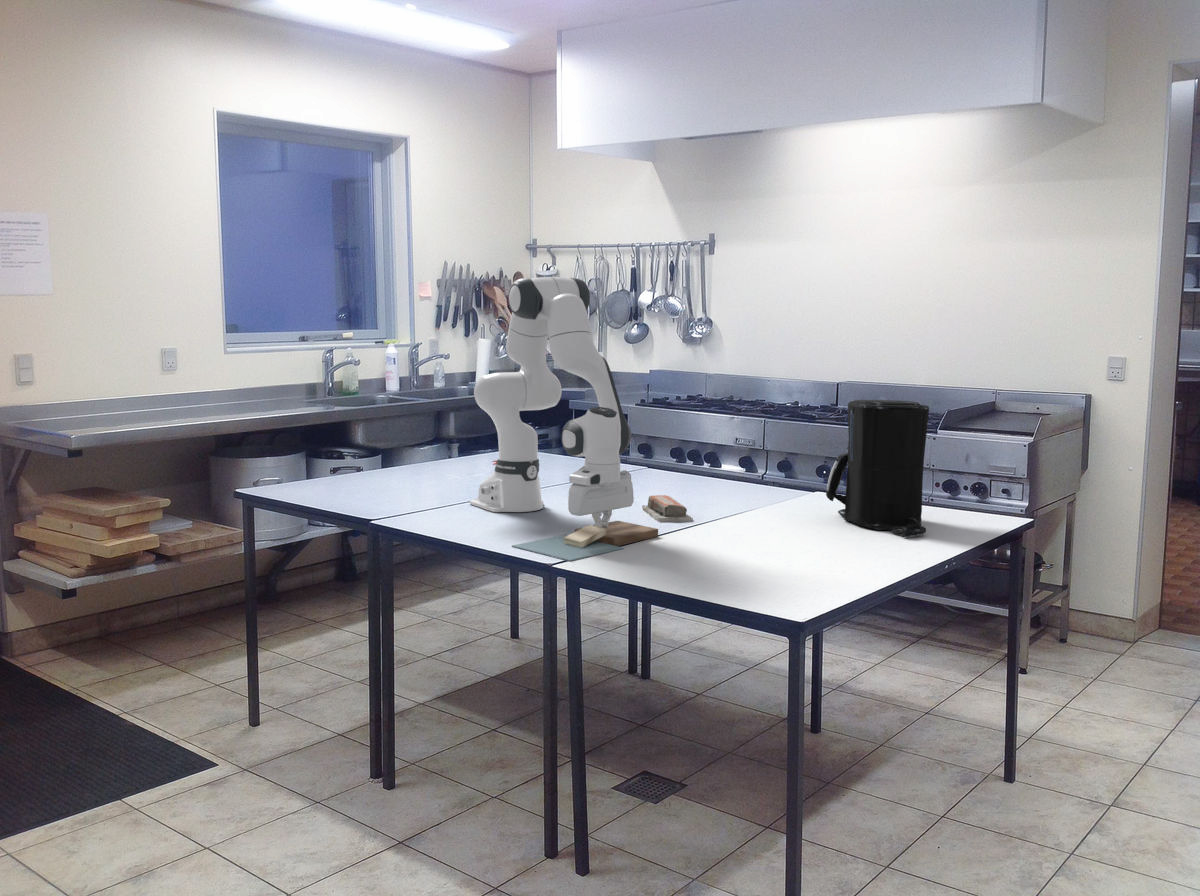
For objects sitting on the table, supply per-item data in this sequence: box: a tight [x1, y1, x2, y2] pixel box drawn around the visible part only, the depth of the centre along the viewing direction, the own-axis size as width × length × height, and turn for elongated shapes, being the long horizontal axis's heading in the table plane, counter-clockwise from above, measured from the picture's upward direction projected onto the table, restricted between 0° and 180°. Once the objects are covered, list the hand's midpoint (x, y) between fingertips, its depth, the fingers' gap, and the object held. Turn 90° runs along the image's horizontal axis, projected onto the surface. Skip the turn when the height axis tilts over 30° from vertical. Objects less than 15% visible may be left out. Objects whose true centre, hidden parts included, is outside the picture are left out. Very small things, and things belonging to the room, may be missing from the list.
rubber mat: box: [511, 533, 624, 562], centre depth 250 cm, size 20×18×1 cm
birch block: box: [563, 524, 607, 548], centre depth 254 cm, size 9×6×2 cm, turn 136°
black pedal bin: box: [825, 399, 930, 539], centre depth 280 cm, size 23×32×34 cm
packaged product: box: [641, 494, 694, 523], centre depth 291 cm, size 18×5×10 cm
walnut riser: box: [573, 520, 659, 547], centre depth 262 cm, size 14×16×2 cm
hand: (601, 528), depth 258 cm, fingers closed
